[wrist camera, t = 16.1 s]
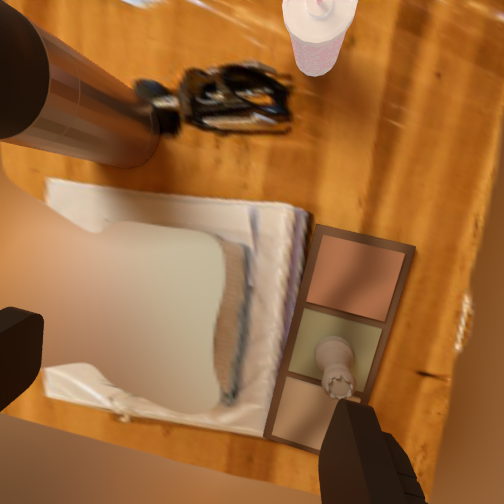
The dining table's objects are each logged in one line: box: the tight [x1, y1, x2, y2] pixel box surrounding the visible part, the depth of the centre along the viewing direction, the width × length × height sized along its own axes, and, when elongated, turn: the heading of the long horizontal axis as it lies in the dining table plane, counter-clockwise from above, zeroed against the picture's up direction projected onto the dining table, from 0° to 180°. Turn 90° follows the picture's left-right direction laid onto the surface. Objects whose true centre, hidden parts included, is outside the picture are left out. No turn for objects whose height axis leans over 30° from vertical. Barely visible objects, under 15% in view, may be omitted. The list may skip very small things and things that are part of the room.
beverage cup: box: [282, 0, 358, 76], centre depth 28 cm, size 6×6×14 cm
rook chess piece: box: [314, 336, 357, 400], centre depth 34 cm, size 4×4×8 cm
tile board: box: [263, 224, 416, 455], centre depth 39 cm, size 11×28×1 cm, turn 167°
